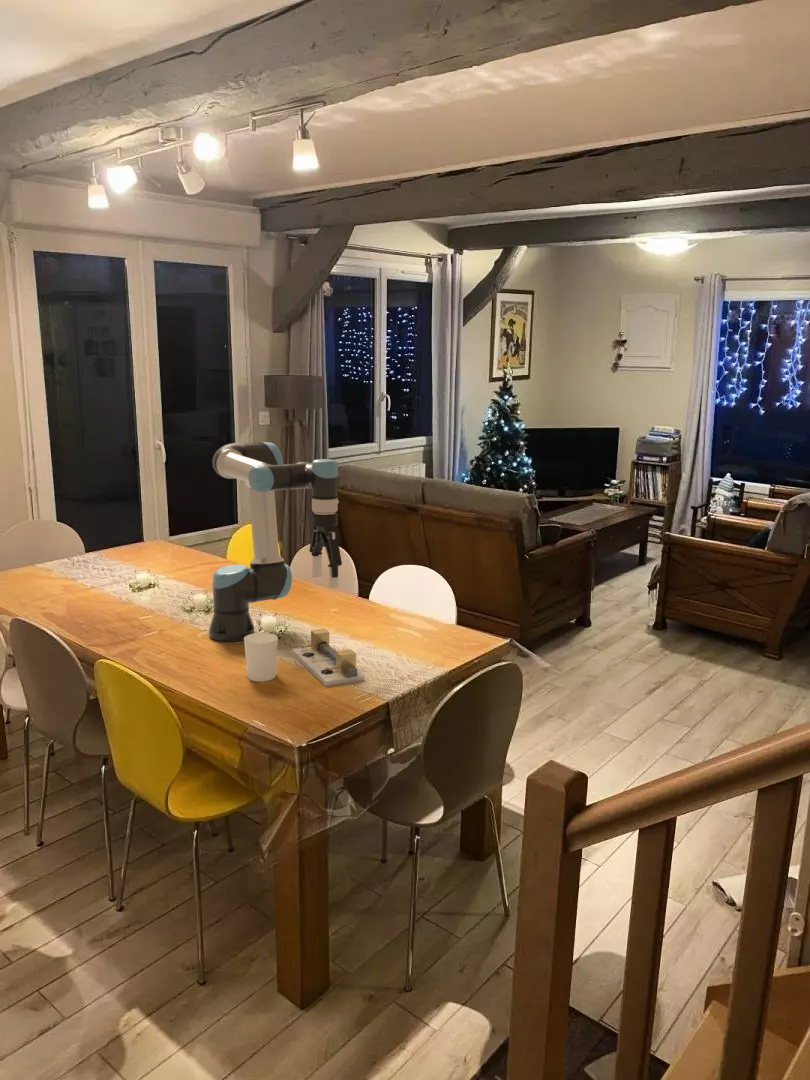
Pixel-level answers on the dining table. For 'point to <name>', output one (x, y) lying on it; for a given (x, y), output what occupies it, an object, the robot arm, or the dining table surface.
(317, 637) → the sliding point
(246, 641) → the candle holder
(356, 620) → the dining table surface
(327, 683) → the bolt plate
